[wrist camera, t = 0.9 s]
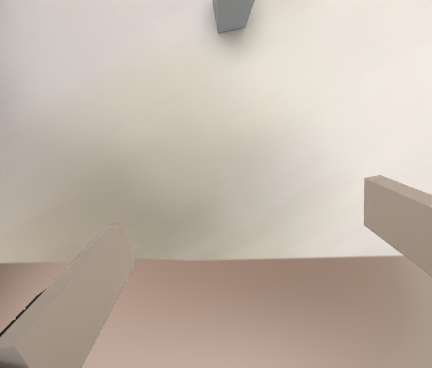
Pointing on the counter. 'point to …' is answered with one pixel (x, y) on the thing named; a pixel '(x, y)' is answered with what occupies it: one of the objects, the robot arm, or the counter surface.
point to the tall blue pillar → (231, 14)
